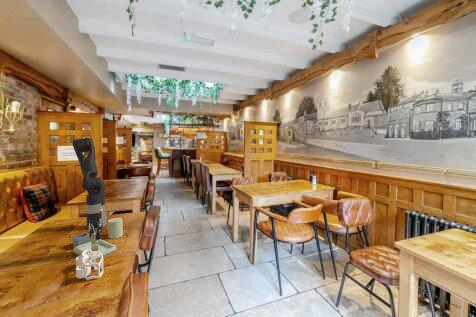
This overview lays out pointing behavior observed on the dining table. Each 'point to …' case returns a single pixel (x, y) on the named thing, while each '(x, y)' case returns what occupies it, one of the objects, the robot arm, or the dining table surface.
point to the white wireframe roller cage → (88, 265)
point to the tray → (102, 247)
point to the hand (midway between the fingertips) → (94, 238)
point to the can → (115, 228)
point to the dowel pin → (94, 242)
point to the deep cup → (81, 239)
